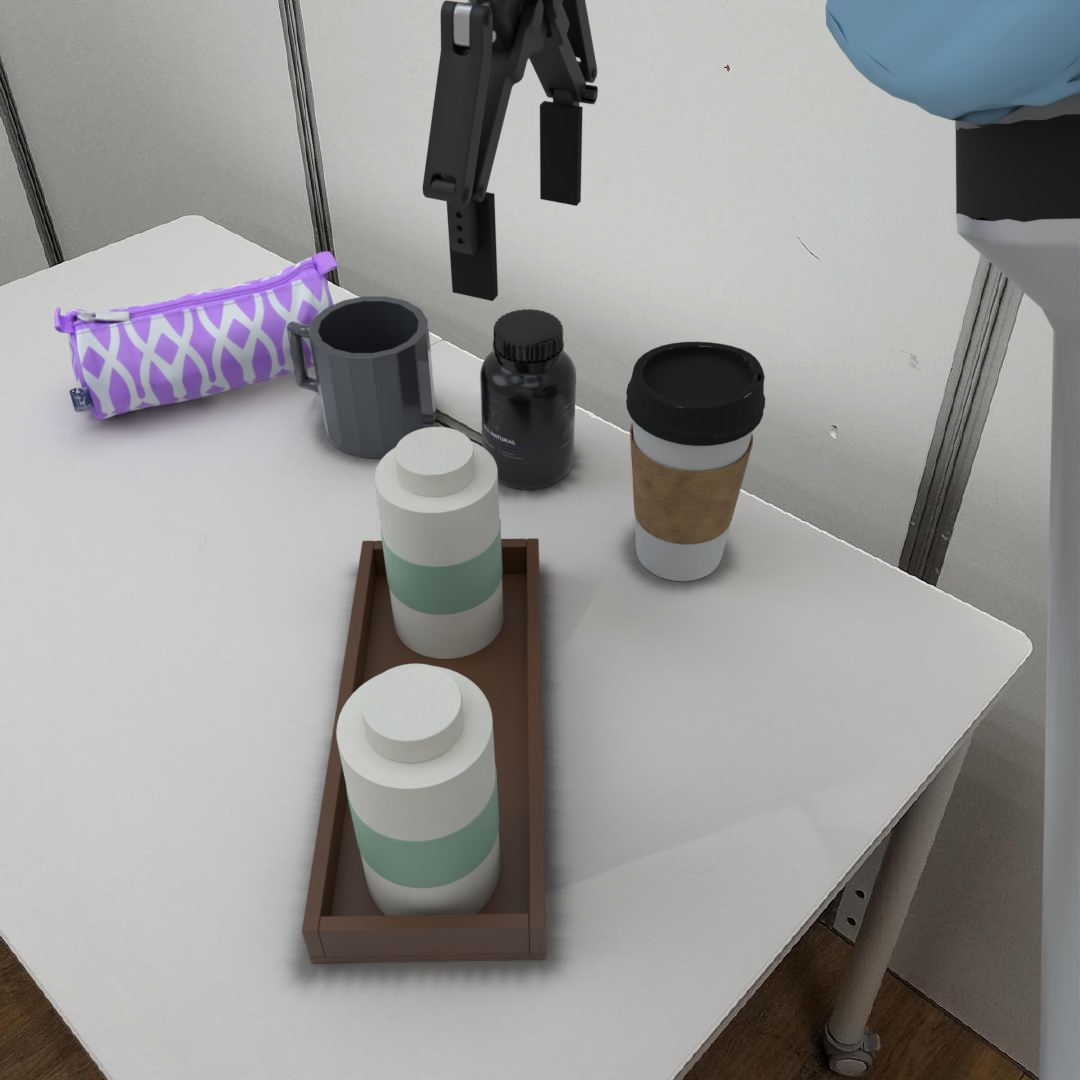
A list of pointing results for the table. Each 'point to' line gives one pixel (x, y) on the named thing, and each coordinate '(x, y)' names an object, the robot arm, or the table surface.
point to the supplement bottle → (528, 400)
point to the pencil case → (193, 341)
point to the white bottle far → (441, 542)
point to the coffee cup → (690, 451)
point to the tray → (516, 704)
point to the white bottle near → (422, 790)
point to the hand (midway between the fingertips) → (520, 244)
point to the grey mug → (368, 372)
